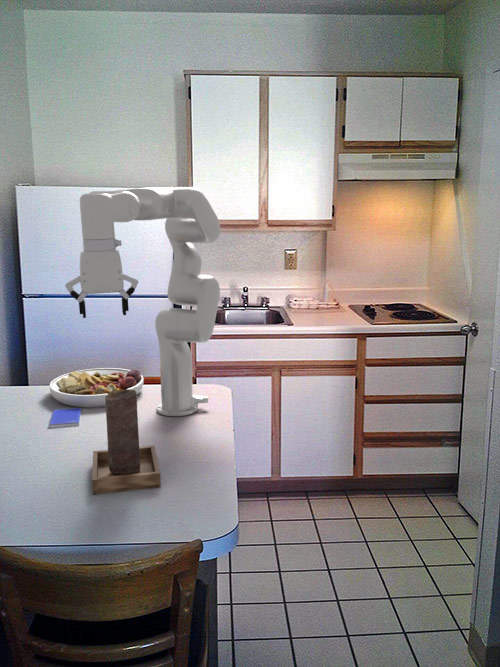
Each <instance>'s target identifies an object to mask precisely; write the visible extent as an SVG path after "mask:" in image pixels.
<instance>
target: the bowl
mask: <svg viewBox="0 0 500 667" xmlns="http://www.w3.org/2000/svg"><path fill="white" fill-rule="evenodd" d="M143 386H144V376H143V375H142V373H141V372H140V371H139V370H137V369H131V370H130V369H125V368H118V367H117V368H116V367H115V368H114V367H102V368H101V367H99V368H89V369H81V370H76V371H75V370H74V371H71V372H68V373H64V374H61V375H59V376H57V377H56V378H54V379H53V380H51V381H50V383H49V392H50V394H51V396H52V397H53V399H55V400H56V401H57V402H59V403H61V404H63V405H67V406H71V407H74V408H102V407H106V402H105V397H106V395H108V393H109V392H110V391H114V390H125V389H130V390H135V391H136V394H137V395H138V394H139V393H140V392H141V391H142V389H143Z"/></svg>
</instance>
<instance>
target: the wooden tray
mask: <svg viewBox="0 0 500 667" xmlns="http://www.w3.org/2000/svg"><path fill="white" fill-rule="evenodd" d="M139 450H140V470H139V471H138V472H134V473H129V474H123V475H122V474H117V473H111V472H110V471H109V459H108V449H104V450H103V449H102V450H93V451H92V472H91V473H92V477H91V479H92V480H91V483H92V484H91V486H92V495H100V494H101V495H102V494H110V493H120V492H130V491H139V490H149V489H157V488H158V489H159V488H161V471H160V465H159V460H158V456H157V451H156V446H155V445H145V446H139Z"/></svg>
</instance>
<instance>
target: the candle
mask: <svg viewBox="0 0 500 667" xmlns="http://www.w3.org/2000/svg"><path fill="white" fill-rule="evenodd" d="M137 395H138V394H136V391H135V390H130V389H125V390H114V391H110V392H109V393H108V395H106V397H105V402H106V406H105V416H106V433H107V435H106V437H107V438H106V439H107V450H108V459H109V471H110V472H111V473H117V474H122V475H123V474H129V473H134V472H138V471H139V470H140V450H139V447H140V438H139V437H140V436H139V435H140V434H139V419H138V398H137V397H138V396H137Z"/></svg>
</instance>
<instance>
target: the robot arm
mask: <svg viewBox="0 0 500 667" xmlns="http://www.w3.org/2000/svg"><path fill="white" fill-rule="evenodd" d="M79 210H80V222H81V234H82V235H81V236H82V247H83V248H82V249H83V251H80V253H79V254H80V256H79V275H78V276H77V277H74V278H73V279H71V280H69V281H68V282H66V283H65V285H64V286H65V288H66V290H67V291H68V293H69V294H70V296H71V297H72V298H73V299H75V300H76V301H77V302H78V309H79V315H82V319H85V318H87V311H86V301H85V298H86V297H87V295H91V294H92V295H94V294H95V295H97V294H111V293H119V295H121V310H122V315H123V316H127V312H129V310H130V309H129V298H130V297H131V296H132V295H133V293H135V291H136V288H137V286H138V284H139V279H137V278H134V277H132V276H130V275H128V274H125V273H124V272H123V266H122V260H121V255H120V251H119V250H117V248H118V247H119V246H120V247H122V240H119V239H117V238H116V235H115V223H129V222H132V221H154V220H162V219H166V220H165V222H164V230H165V234H166V236H167V238H168V241H169V243H170V246H171V249H172V252H173V263H172V268H171V273H170V276H169V282H168V285H167V287H168V288H167V299H168V300H169V302H170V303H172V304H175V305H177V306H178V305H179V306H186V307H188V306H189V307H196V309H187V308H180V307H179V308H177V307H169V308H164V309H162V310H160V311H159V312H158V313H157V315H156V317H155V320H154V321H155V322H154V323H155V332H156V336H157V340H158V347H159V348H158V349H159V363H160V364H159V365H160V368H159V369H160V370H159V371H160V395H161V398H160V399H161V402H159V404H157V405H156V411H157V413H158V414H159V415H162V416H167V417H185V416H189V415H191V414H194V413H196V412H197V411H198V409H199V404H208V403H209V397H208V396H203V395H196V394H194V390H193V365H192V363H193V359H192V358H193V357H192V356H193V355H192V351H191V348H190V346H189V344H188V343H196V344H203V343H207V342H208V341H209V340H210V339H211V337H212V335H213V333H214V332H213V331H214V328H215V324H216V319H217V318H216V317H217V315H218V314H217V313H218V310H219V309H218V308H219V303H220V296H221V288H220V284H219V281H218V280H217V279H216V277H214V276H212V275H210V274H209V275H207V274H201V269H202V262H203V261H202V256H201V254H200V252H199V250H198V249H197V247H196V246H195V244H198V243H199V244H211V243H214V242H215V241H217V240H218V239H219V237H220V235H221V224H220V223H221V222H220V220H219V218H218V216H217V214H216V212H215V210H214V209H213V207H212V205H211V203H210V202H209V200H208V198H207V197H206V196H205V194H204V193H203V192H202V191H201V190H200V189H199V188H197V187H193V186H191V187H190V186H189V187H187V186H184V187H183V186H180V187H179V186H178V187H177V186H176V187H173V186H170V187H169V186H167V187H141V188H140V187H139V188H131V189H130V188H129V189H120V190H119V189H117V190H96V191H90V192H89V193H84V194H82V195H81V196H80V197H79ZM124 281H126V282H128V283H130V285H129V286H130V287H128V289H127V290H125V289H124V286H125V285H124ZM78 284H80V288H81V292H79V293H78V292H77V291H76V290H75V288H74V286H76V285H78Z"/></svg>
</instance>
